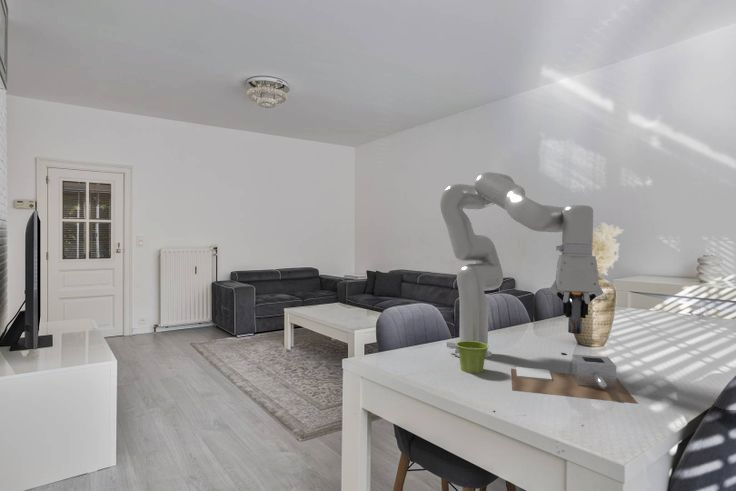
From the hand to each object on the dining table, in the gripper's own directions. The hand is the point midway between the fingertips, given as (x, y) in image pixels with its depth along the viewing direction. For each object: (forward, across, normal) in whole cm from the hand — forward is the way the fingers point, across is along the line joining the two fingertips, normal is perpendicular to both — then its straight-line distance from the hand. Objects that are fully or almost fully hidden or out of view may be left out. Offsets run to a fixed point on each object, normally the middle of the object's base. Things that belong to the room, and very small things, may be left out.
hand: (575, 316), depth 116 cm
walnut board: (+19, -2, -5) cm, 19 cm away
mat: (+18, -10, +1) cm, 20 cm away
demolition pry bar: (+20, +4, +22) cm, 30 cm away
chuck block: (+17, +5, -5) cm, 19 cm away
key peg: (+4, 0, 0) cm, 4 cm away
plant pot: (+19, -27, 0) cm, 33 cm away
